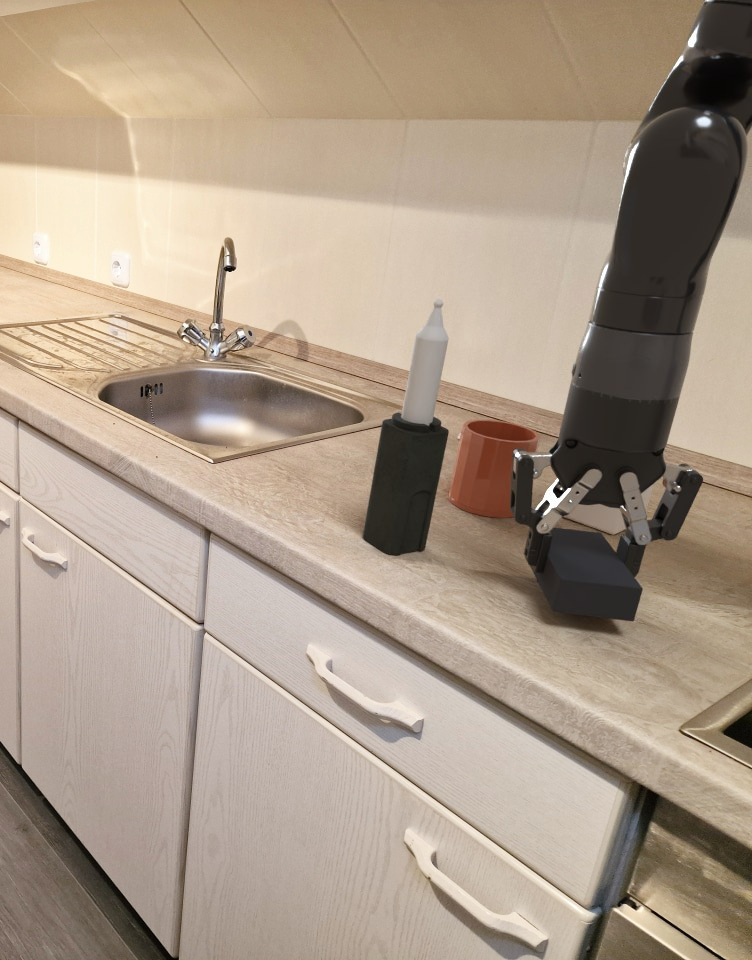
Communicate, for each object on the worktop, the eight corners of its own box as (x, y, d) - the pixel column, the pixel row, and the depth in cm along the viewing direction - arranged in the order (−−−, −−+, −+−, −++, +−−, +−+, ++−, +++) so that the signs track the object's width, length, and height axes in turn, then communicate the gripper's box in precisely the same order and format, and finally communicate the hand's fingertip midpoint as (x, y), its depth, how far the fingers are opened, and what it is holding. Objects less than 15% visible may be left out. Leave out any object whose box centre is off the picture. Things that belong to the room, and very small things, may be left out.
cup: (514, 495, 102) (531, 424, 98) (528, 522, 95) (547, 445, 91) (444, 487, 103) (458, 416, 100) (453, 512, 96) (469, 437, 93)
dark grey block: (593, 562, 78) (601, 532, 77) (633, 622, 68) (643, 588, 67) (523, 554, 79) (529, 524, 78) (552, 611, 69) (560, 578, 68)
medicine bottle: (580, 500, 101) (606, 403, 97) (643, 522, 96) (674, 420, 92) (549, 513, 97) (575, 412, 93) (614, 536, 92) (644, 431, 87)
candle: (396, 529, 91) (440, 294, 82) (430, 550, 87) (480, 303, 77) (357, 535, 89) (398, 295, 80) (390, 556, 85) (437, 305, 75)
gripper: (538, 387, 65) (496, 583, 71) (750, 403, 62) (687, 606, 68) (517, 365, 72) (480, 545, 78) (707, 379, 69) (654, 565, 75)
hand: (577, 573), depth 73 cm, fingers closed on dark grey block, 6 cm apart
